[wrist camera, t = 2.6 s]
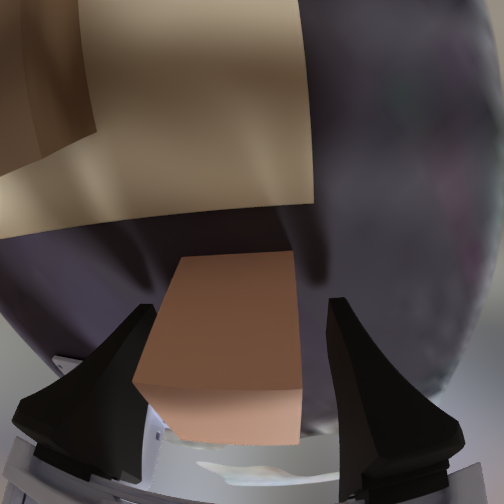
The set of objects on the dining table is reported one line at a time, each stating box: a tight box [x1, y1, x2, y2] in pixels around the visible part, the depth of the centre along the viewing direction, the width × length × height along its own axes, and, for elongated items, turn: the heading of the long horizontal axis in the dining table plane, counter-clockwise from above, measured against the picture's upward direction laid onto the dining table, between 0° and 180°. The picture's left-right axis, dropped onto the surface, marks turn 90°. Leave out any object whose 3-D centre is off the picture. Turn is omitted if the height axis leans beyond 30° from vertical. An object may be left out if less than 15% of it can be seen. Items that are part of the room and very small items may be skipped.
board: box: [0, 0, 314, 239], centre depth 8 cm, size 11×16×1 cm
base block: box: [0, 0, 97, 177], centre depth 6 cm, size 6×6×3 cm
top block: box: [132, 251, 302, 445], centre depth 10 cm, size 4×4×6 cm
